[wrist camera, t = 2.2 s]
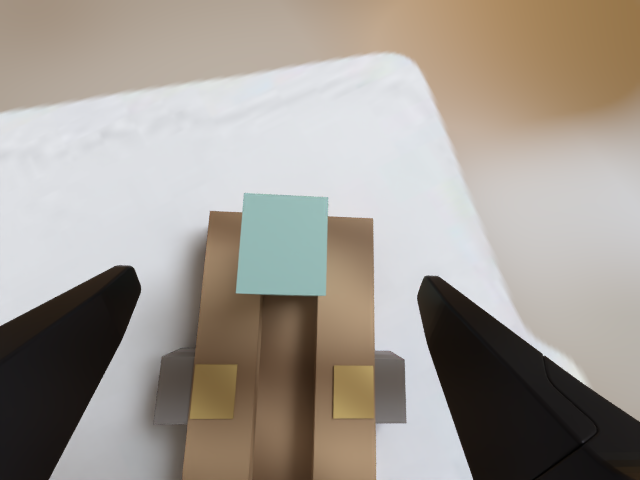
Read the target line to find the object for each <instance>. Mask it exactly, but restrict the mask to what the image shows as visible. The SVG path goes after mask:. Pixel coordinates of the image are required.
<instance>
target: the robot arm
mask: <svg viewBox="0 0 640 480" xmlns="http://www.w3.org/2000/svg"><path fill="white" fill-rule="evenodd" d="M140 293H141V285H140V282H139V280H138V277H137V274H136V272H135V269H134V268H133V267H132V266H126V265H117V266H114V267H112V268H111V269H109V270H107V271H105V272H103V273H101V274H99V275H97V276H95V277H93V278H91V279H90V280H88V281H86V282H84V283H82V284H80V285H78V286H76V287H74V288H72V289H70V290H68V291H67V292H65V293H63V294H61V295H59V296H57V297H55V298H53V299H51V300H49V301H47V302H45V303H44V304H42V305H40V306H38V307H36V308H34V309H32V310H30V311H28V312H26V313H24V314H23V315H21V316H19V317H17V318H15V319H13V320H11V321H9V322H7V323H5V324H3V325H1V326H0V480H49V478H50V476H51V474H52V472H53V471H54V469H55V467H56V465H57V463H58V461H59V459H60V457H61V455H62V453H63V451H64V450H65V448H66V446H67V444H68V442H69V440H70V438H71V436H72V434H73V432H74V430H75V429H76V427H77V425H78V423H79V421H80V419H81V417H82V415H83V413H84V411H85V410H86V408H87V406H88V404H89V402H90V400H91V398H92V396H93V394H94V392H95V390H96V389H97V387H98V385H99V383H100V381H101V379H102V377H103V375H104V373H105V371H106V369H107V368H108V366H109V364H110V362H111V360H112V358H113V356H114V354H115V352H116V350H117V348H118V347H119V345H120V343H121V341H122V338H123V336H124V334H125V331H126V329H127V326H128V324H129V321H130V319H131V316H132V314H133V311H134V308H135V306H136V303H137V301H138V298H139V296H140ZM417 301H418V305H419V310H420V315H421V319H422V324H423V328H424V333H425V337H426V341H427V345H428V348H429V351H430V354H431V357H432V360H433V363H434V366H435V369H436V372H437V375H438V378H439V381H440V383H441V386H442V389H443V392H444V395H445V398H446V401H447V404H448V407H449V410H450V413H451V416H452V419H453V421H454V424H455V427H456V430H457V433H458V436H459V439H460V442H461V445H462V448H463V451H464V454H465V457H466V460H467V462H468V465H469V468H470V471H471V474H472V477H473V480H640V422H639V421H637V420H636V419H634V418H633V417H632V416H630V415H629V414H627V413H626V412H624V411H622V410H621V409H620V408H618V407H617V406H615V405H614V404H612V403H611V402H609V401H608V400H606V399H605V398H603V397H602V396H600V395H599V394H597V393H596V392H595V391H593V390H592V389H590V388H589V387H587V386H586V385H584V384H583V383H581V382H580V381H579V380H577V379H576V378H575V377H573V376H572V375H570V374H569V373H568V372H566V371H565V370H563V369H562V368H561V367H559V366H558V365H557V364H555V363H554V362H553V361H551V360H550V359H549V358H547V357H546V356H543V354H542V353H541V352H539V351H538V350H537V349H535V348H534V347H533V346H531V345H530V344H529V343H527V342H526V341H525V340H523V339H522V338H520V337H519V336H518V335H516V334H515V333H514V332H512V331H511V330H510V329H508V328H507V327H506V326H504V325H503V324H502V323H500V322H499V321H498V320H496V319H495V318H494V317H492V316H491V315H490V314H488V313H487V312H486V311H484V310H483V309H482V308H480V307H479V306H478V305H476V304H475V303H474V302H472V301H471V300H470V299H468V298H467V297H466V296H464V295H463V294H462V293H460V292H459V291H458V290H456V289H455V288H454V287H452V286H451V285H450V284H448V283H447V282H446V281H444V280H443V279H442V278H440V277H439V276H425V277H424V278H423V281H422V283H421V286H420V289H419V292H418V295H417Z"/></svg>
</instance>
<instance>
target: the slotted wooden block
mask: <svg viewBox="0 0 640 480" xmlns="http://www.w3.org/2000/svg"><path fill="white" fill-rule="evenodd" d="M241 224H242V213H241V212H219V211H210V216H209V226H208V235H207V245H206V254H205V264H204V273H203V283H202V292H201V302H200V311H199V321H198V330H197V340H196V348H181V349H178V350H176V351H174V352H172V353H169V354H167V355H165V356H162V360H161V368H160V376H159V384H158V391H157V399H156V407H155V415H154V423H153V424H188V425H187V435H186V444H185V454H184V463H183V473H182V480H376V431H375V423H406V395H405V362H404V359H403V358H401V357H399V356H398V355H396V354H394V353H393V352H391V351H375V343H374V255H373V219H372V218H351V217H329V216H328V224H327V272H326V296H277V295H255V294H238V293H236V285H237V272H238V260H239V248H240V236H241Z"/></svg>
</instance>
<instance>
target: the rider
mask: <svg viewBox="0 0 640 480" xmlns="http://www.w3.org/2000/svg"><path fill="white" fill-rule="evenodd" d="M327 224H328V197H311V196H291V195H271V194H251V193H244V199H243V212H242V224H241V236H240V248H239V260H238V272H237V285H236V293H238V294H255V295H277V296H326V272H327Z"/></svg>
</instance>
